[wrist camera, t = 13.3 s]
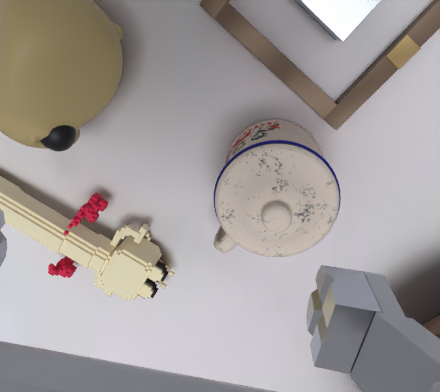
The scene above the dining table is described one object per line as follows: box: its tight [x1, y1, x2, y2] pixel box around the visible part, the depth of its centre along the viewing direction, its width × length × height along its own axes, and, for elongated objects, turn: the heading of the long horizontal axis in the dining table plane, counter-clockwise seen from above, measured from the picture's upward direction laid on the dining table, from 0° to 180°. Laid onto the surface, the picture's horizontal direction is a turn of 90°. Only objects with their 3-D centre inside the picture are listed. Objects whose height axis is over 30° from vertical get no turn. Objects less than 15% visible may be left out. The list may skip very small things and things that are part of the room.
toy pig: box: [0, 0, 123, 151], centre depth 30 cm, size 10×12×11 cm
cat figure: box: [0, 176, 175, 301], centre depth 37 cm, size 10×9×25 cm
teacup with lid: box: [214, 119, 340, 257], centre depth 31 cm, size 12×9×12 cm
